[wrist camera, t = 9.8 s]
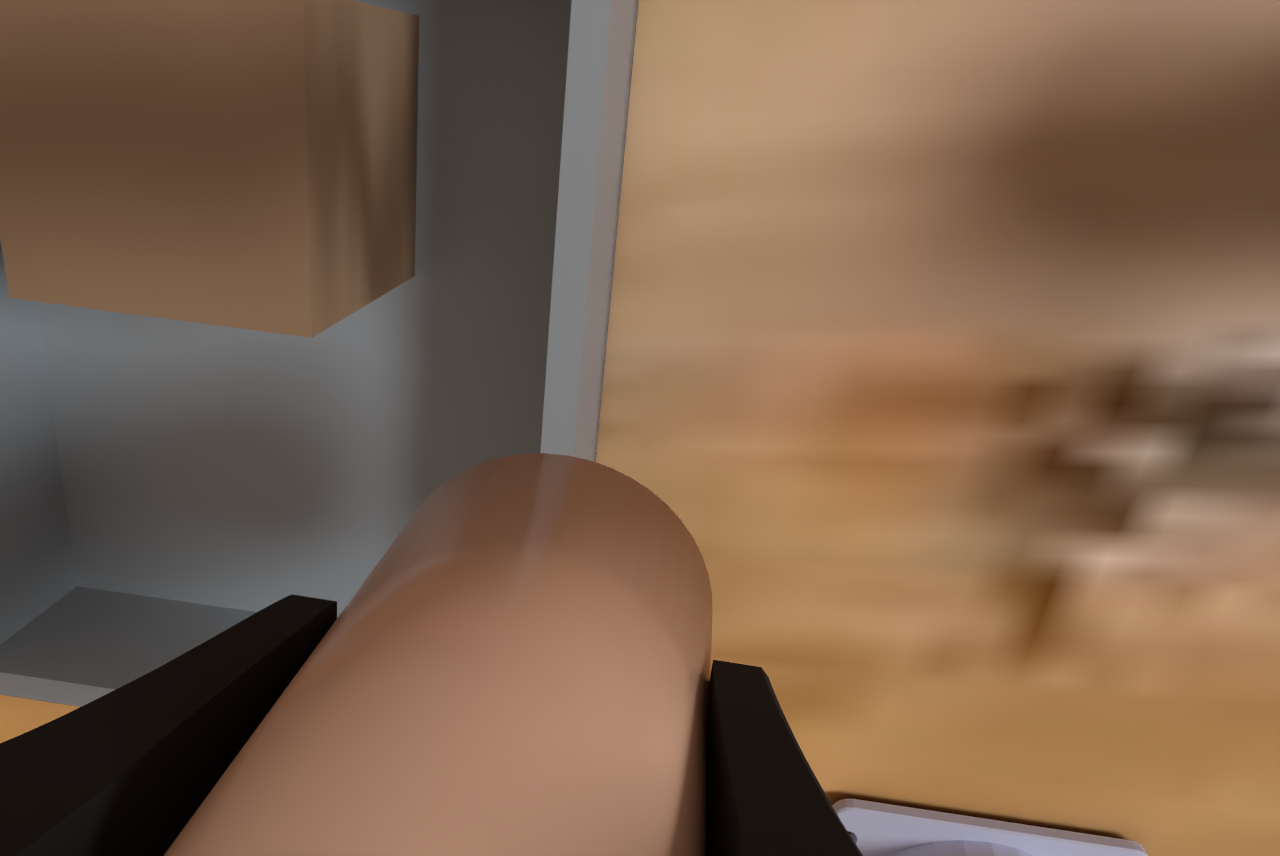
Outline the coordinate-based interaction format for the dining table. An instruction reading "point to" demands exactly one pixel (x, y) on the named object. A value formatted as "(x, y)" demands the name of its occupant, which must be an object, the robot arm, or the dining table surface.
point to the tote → (321, 375)
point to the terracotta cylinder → (494, 687)
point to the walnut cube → (208, 157)
